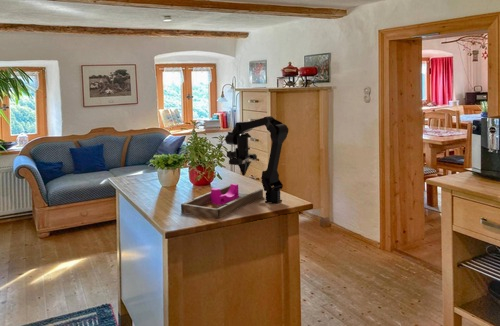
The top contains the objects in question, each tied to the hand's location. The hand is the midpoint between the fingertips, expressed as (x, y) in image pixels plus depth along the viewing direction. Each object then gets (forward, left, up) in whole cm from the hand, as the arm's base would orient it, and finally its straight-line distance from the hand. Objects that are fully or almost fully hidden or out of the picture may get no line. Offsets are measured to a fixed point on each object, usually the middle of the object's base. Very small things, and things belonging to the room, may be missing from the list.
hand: (243, 175), depth 237 cm
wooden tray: (0, +18, -11) cm, 21 cm away
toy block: (+2, +13, -11) cm, 18 cm away
